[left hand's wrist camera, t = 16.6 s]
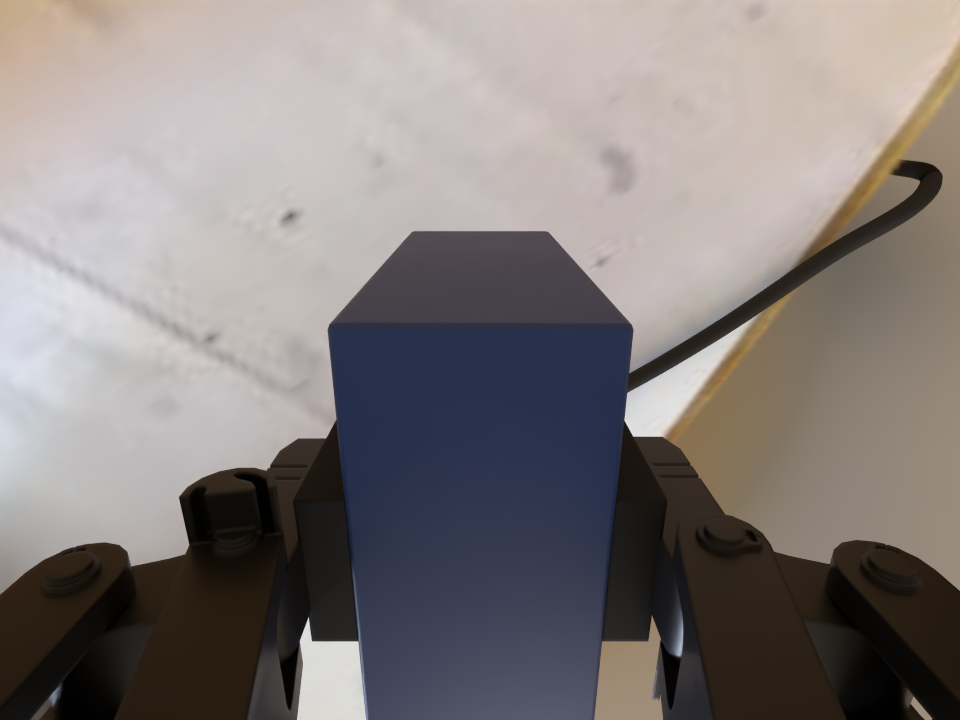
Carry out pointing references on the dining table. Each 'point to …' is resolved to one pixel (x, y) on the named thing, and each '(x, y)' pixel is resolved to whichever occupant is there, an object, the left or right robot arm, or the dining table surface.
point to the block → (480, 475)
